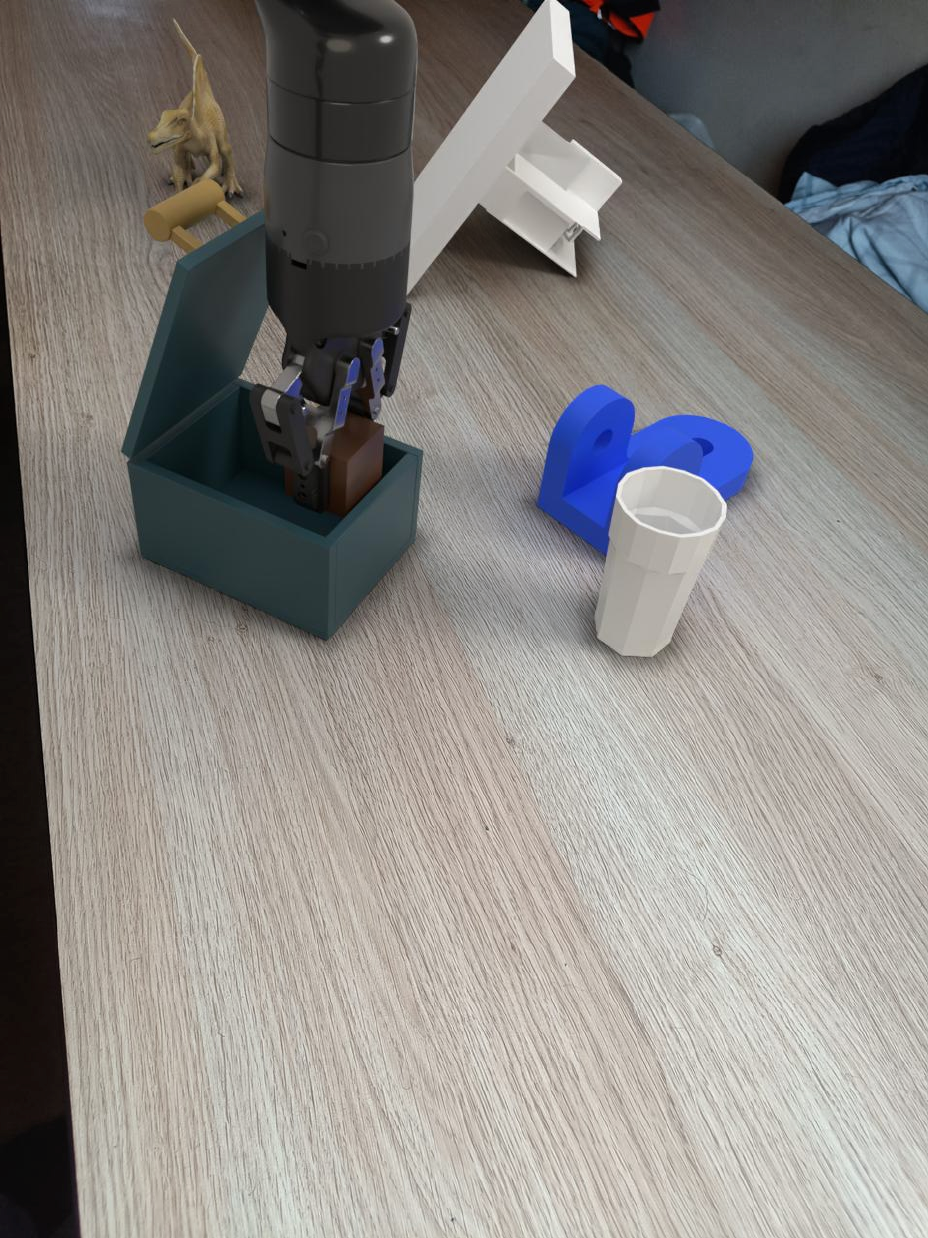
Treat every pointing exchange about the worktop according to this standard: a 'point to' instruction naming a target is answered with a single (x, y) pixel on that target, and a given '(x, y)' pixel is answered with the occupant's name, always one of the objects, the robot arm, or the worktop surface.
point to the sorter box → (266, 518)
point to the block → (350, 462)
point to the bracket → (628, 458)
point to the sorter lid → (200, 311)
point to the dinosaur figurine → (195, 132)
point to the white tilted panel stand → (514, 157)
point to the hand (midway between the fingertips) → (333, 484)
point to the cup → (655, 556)
